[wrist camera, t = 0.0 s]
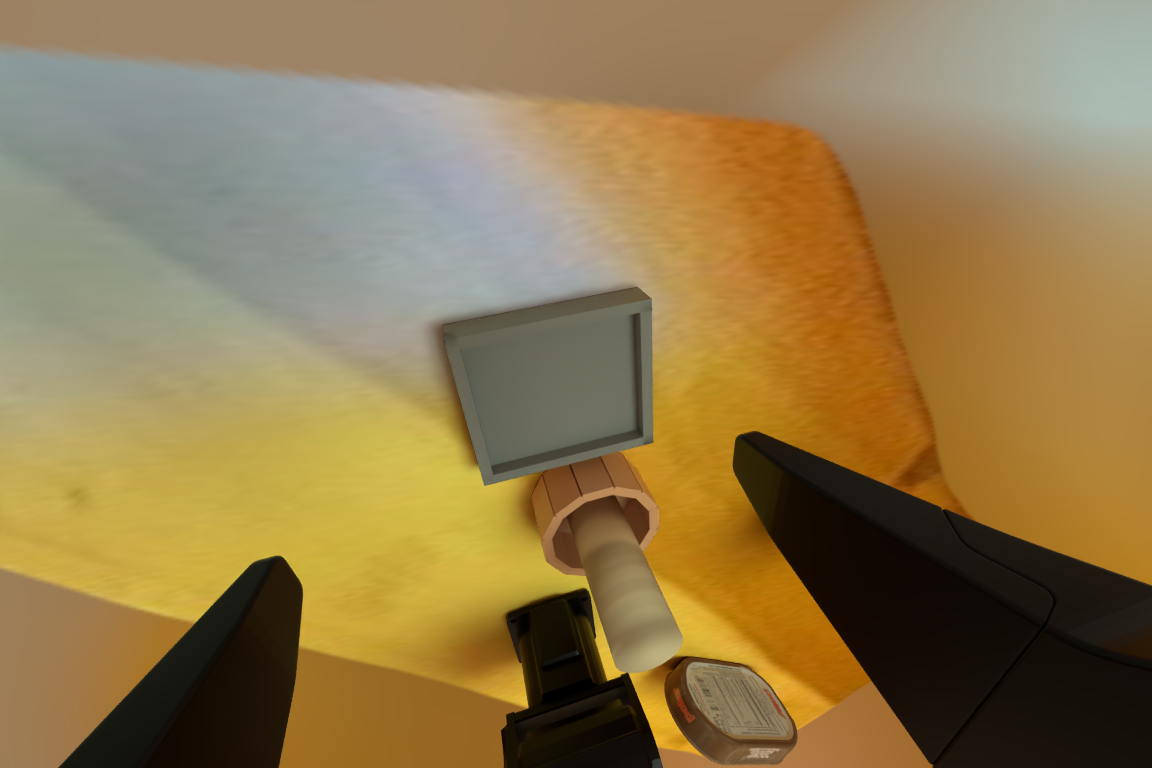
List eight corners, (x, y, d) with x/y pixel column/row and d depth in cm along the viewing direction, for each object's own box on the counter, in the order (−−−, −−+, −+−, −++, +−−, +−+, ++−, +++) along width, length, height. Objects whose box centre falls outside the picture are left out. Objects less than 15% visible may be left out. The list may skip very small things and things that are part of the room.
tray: (641, 425, 28) (653, 442, 27) (481, 464, 27) (484, 486, 25) (637, 287, 23) (651, 298, 22) (442, 324, 22) (443, 340, 20)
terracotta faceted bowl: (638, 516, 32) (658, 556, 30) (540, 544, 31) (551, 588, 28) (635, 438, 29) (658, 474, 26) (524, 466, 27) (534, 508, 24)
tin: (649, 667, 44) (690, 771, 37) (669, 647, 43) (714, 751, 36) (746, 678, 51) (795, 768, 44) (764, 662, 50) (817, 750, 43)
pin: (615, 511, 31) (681, 658, 22) (566, 524, 30) (616, 681, 22) (612, 474, 29) (684, 619, 20) (560, 487, 28) (612, 642, 20)
